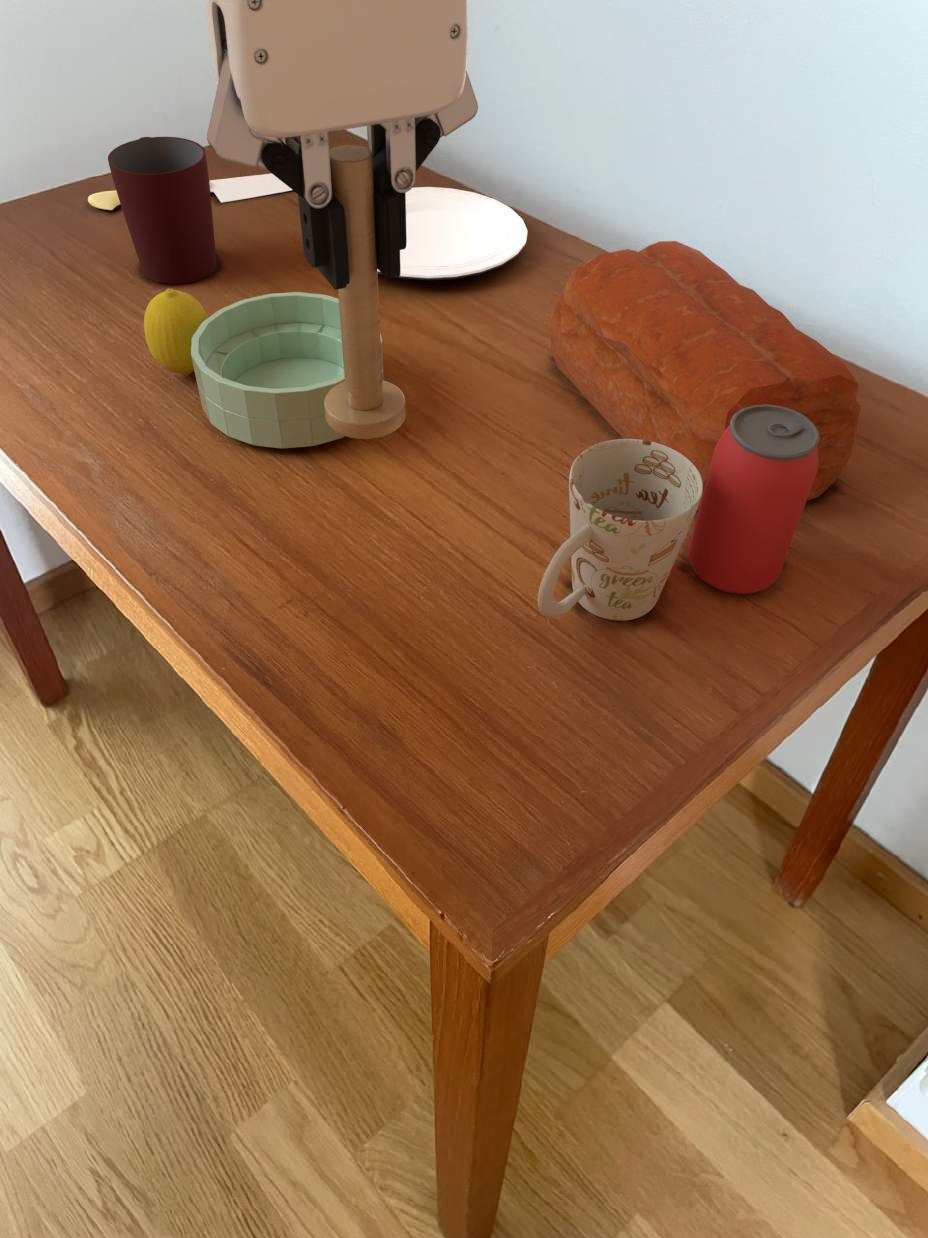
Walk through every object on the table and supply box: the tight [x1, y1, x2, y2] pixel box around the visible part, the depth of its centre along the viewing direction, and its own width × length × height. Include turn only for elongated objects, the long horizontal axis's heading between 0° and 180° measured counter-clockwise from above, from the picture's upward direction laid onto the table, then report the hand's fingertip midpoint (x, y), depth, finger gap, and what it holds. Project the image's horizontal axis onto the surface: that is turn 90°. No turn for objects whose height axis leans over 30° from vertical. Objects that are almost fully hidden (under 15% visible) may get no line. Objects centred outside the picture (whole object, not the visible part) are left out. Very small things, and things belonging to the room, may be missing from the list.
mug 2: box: [537, 438, 703, 622], centre depth 63 cm, size 8×13×10 cm, turn 137°
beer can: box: [687, 404, 819, 595], centre depth 65 cm, size 7×7×12 cm
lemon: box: [143, 288, 209, 377], centre depth 82 cm, size 6×6×8 cm
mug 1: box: [107, 136, 217, 285], centre depth 95 cm, size 12×9×11 cm
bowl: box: [191, 291, 385, 449], centre depth 80 cm, size 15×15×6 cm
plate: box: [377, 186, 528, 282], centre depth 102 cm, size 21×21×2 cm
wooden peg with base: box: [324, 144, 407, 440], centre depth 48 cm, size 4×4×14 cm
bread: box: [550, 240, 862, 513], centre depth 78 cm, size 16×27×11 cm, turn 24°
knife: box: [87, 173, 293, 211], centre depth 110 cm, size 1×33×4 cm
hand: (356, 268), depth 47 cm, fingers closed on wooden peg with base, 2 cm apart
